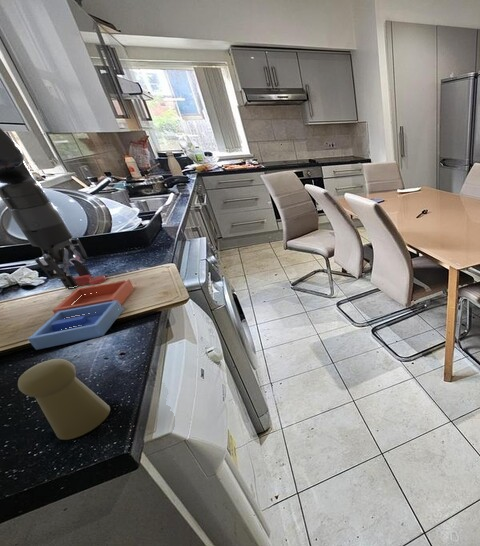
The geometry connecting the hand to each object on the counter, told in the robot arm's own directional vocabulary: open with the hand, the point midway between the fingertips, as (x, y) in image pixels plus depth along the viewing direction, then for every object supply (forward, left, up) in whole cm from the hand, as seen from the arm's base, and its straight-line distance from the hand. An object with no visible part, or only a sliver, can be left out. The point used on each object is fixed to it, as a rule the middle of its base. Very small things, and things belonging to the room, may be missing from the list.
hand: (80, 282), depth 85 cm
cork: (+24, -54, -1) cm, 59 cm away
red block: (+1, 0, -1) cm, 1 cm away
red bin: (+10, -14, -1) cm, 17 cm away
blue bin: (+11, -25, -1) cm, 27 cm away
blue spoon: (+11, -25, 0) cm, 27 cm away
